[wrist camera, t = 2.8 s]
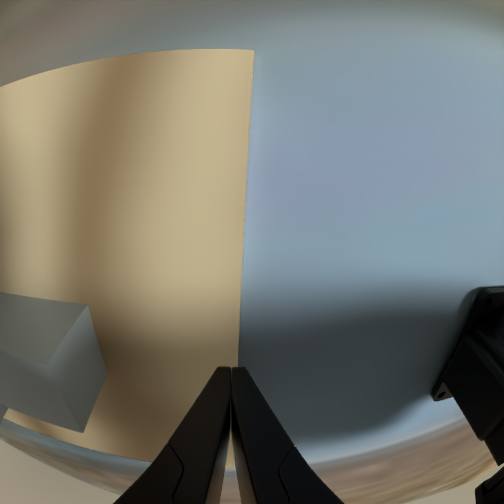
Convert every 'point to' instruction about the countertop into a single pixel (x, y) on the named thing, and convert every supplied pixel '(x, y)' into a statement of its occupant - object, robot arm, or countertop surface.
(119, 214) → the birch board
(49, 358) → the tee block
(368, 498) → the countertop surface
